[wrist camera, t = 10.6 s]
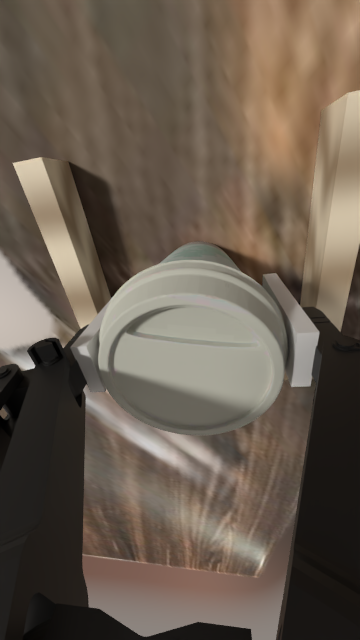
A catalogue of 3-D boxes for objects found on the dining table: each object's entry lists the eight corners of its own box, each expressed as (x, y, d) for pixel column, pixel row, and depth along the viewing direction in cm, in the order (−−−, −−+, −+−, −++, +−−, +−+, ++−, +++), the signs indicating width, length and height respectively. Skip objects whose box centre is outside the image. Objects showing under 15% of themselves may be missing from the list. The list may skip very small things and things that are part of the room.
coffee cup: (274, 266, 19) (354, 369, 8) (206, 336, 23) (205, 464, 12) (187, 196, 17) (154, 218, 7) (130, 285, 21) (54, 386, 11)
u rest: (43, 166, 17) (12, 163, 15) (357, 102, 14) (394, 82, 11) (114, 364, 27) (104, 385, 24) (315, 355, 23) (330, 378, 20)
